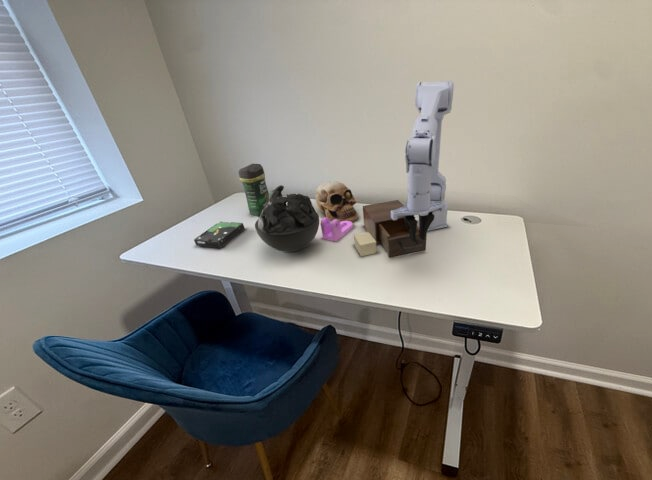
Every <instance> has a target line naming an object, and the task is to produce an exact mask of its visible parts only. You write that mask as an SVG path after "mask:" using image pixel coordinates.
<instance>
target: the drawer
mask: <svg viewBox="0 0 652 480" xmlns="http://www.w3.org/2000/svg"><path fill="white" fill-rule="evenodd" d="M377 232H378V239H379V241H380V242H381V243H380V244H381V245H382V246H383V248H384V249H385V251H386V252H387V257H388V259H393V258H397V257H402V256H406V255H410V254H415V253H419V252H425V251H427V237H428V232H427V233H426V236H425V239H424V240H422V239H421V238H420V237H419V227H418V226H417V227H416V240H415V241H414V242H413V241H412V240H411V239H410V235H409V231H408V228H407V225H406V223H405V221H404V219H401V220H396V221H390V222H385V223H380V224H377Z"/></svg>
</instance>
